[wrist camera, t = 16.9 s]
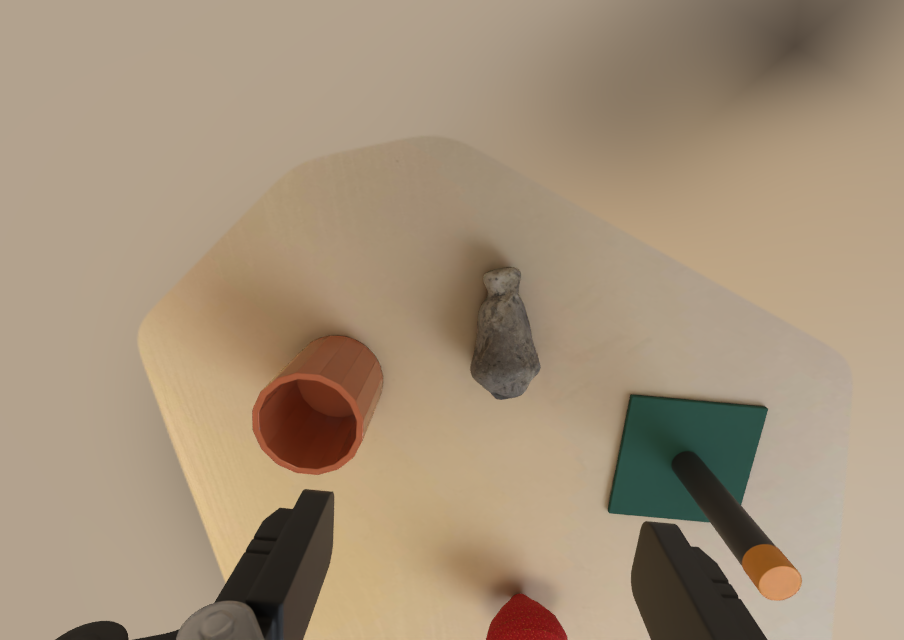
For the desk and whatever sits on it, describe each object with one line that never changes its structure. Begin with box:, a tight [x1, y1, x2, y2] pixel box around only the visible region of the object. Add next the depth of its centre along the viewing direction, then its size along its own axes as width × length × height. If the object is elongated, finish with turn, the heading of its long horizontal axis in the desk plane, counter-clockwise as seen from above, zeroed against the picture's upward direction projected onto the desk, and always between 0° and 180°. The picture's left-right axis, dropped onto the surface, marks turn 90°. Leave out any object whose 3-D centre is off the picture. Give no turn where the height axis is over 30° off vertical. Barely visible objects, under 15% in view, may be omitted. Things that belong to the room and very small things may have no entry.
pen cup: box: [252, 336, 383, 475], centre depth 40 cm, size 8×8×9 cm
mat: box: [608, 395, 768, 522], centre depth 45 cm, size 12×12×1 cm
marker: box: [672, 451, 802, 600], centre depth 38 cm, size 3×3×14 cm
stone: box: [470, 267, 540, 400], centre depth 40 cm, size 10×5×8 cm
